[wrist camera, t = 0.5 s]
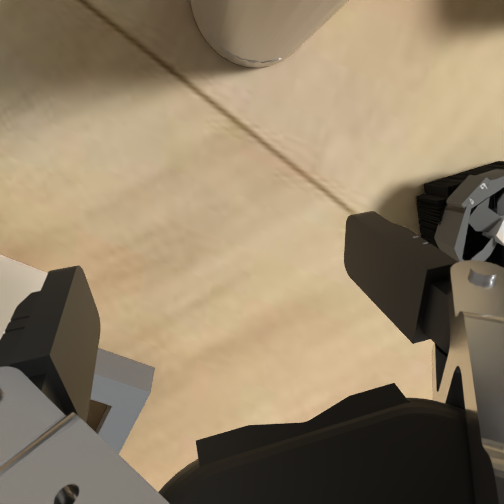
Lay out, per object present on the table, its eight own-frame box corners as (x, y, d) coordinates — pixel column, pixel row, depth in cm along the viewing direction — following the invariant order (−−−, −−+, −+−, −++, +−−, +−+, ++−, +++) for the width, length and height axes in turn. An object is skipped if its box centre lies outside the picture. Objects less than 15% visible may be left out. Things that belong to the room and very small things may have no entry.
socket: (-14, 427, 32) (-37, 459, 29) (30, 324, 30) (10, 346, 27) (107, 460, 35) (98, 493, 32) (154, 367, 33) (150, 392, 30)
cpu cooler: (571, 273, 31) (462, 310, 30) (515, 254, 36) (420, 285, 35) (572, 150, 28) (450, 188, 27) (510, 150, 33) (407, 181, 32)
